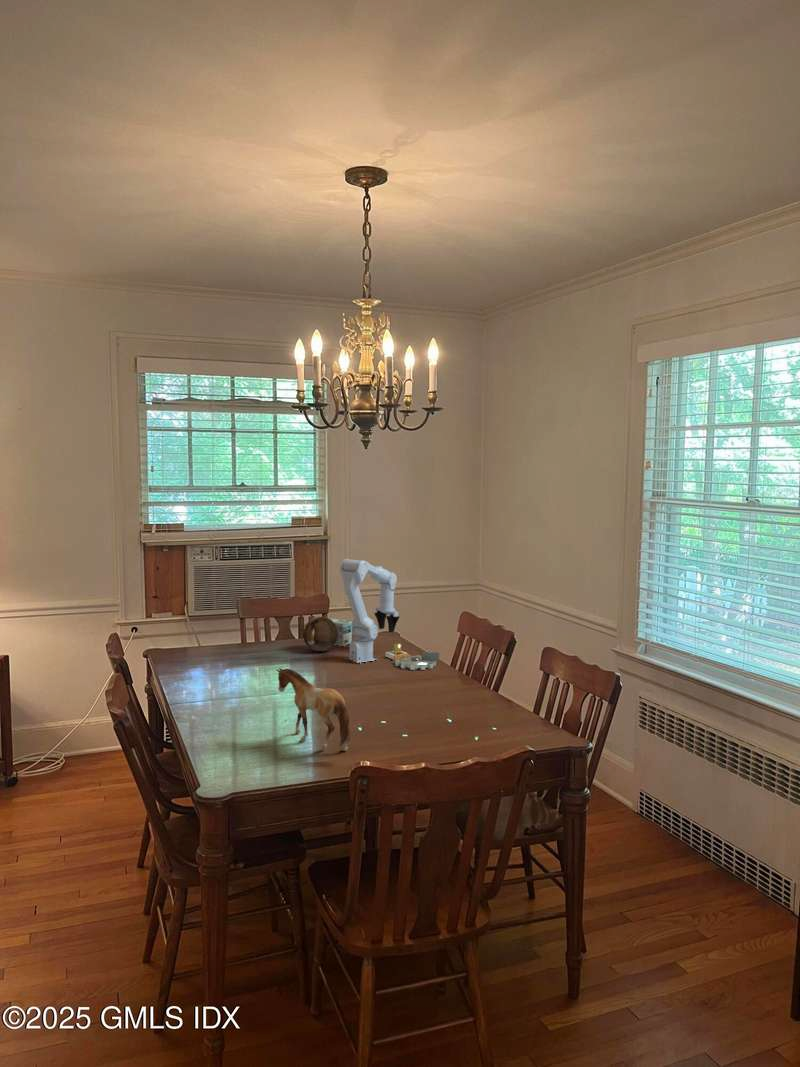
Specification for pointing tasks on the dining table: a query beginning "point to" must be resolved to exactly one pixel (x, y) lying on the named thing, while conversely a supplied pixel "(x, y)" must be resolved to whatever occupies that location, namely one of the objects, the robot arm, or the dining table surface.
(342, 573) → the robot arm
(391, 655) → the square open frame
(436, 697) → the dining table surface
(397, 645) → the brass pin
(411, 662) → the sprocket
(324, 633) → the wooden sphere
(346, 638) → the light bulb box
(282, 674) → the horse figurine
